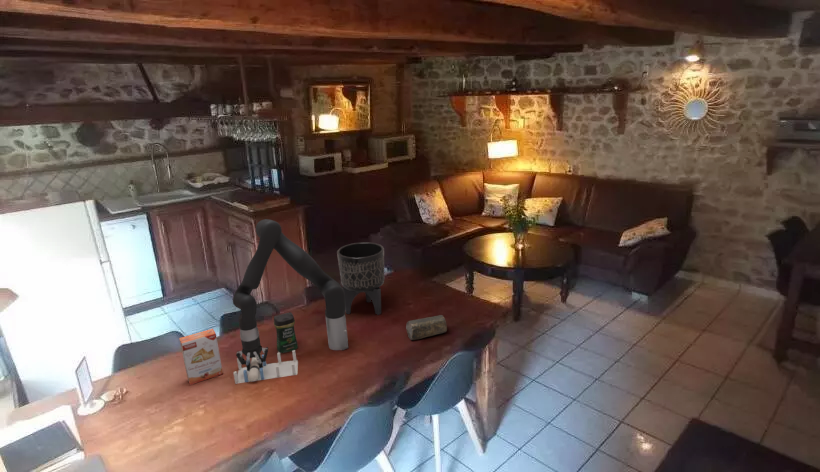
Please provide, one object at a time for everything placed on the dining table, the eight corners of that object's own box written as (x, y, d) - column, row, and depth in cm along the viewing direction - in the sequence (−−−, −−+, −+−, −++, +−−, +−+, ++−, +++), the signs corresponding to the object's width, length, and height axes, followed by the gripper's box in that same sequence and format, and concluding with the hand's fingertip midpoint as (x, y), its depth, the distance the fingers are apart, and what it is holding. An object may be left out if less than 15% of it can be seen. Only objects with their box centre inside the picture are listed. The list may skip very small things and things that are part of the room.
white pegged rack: (298, 361, 222) (296, 349, 220) (297, 377, 209) (295, 365, 207) (239, 369, 217) (237, 358, 215) (235, 386, 205) (233, 374, 203)
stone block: (405, 335, 241) (413, 344, 232) (403, 319, 239) (412, 327, 230) (440, 325, 249) (450, 333, 240) (439, 310, 246) (449, 317, 237)
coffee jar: (280, 356, 226) (275, 320, 221) (275, 348, 233) (270, 314, 227) (300, 350, 231) (295, 315, 225) (295, 342, 237) (290, 308, 232)
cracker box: (190, 386, 207) (181, 343, 200) (187, 379, 212) (178, 337, 205) (223, 374, 214) (216, 332, 207) (220, 368, 219) (212, 327, 212)
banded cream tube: (252, 361, 219) (251, 353, 218) (261, 360, 220) (261, 352, 219) (248, 382, 204) (247, 373, 203) (258, 380, 205) (257, 372, 204)
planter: (349, 299, 283) (344, 241, 272) (391, 300, 279) (387, 242, 268) (337, 319, 259) (331, 257, 248) (382, 320, 255) (378, 258, 244)
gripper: (267, 329, 212) (272, 363, 217) (233, 334, 209) (239, 368, 215) (266, 338, 205) (271, 372, 210) (231, 342, 202) (237, 377, 208)
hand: (255, 370), depth 212 cm, fingers closed on banded cream tube, 4 cm apart
